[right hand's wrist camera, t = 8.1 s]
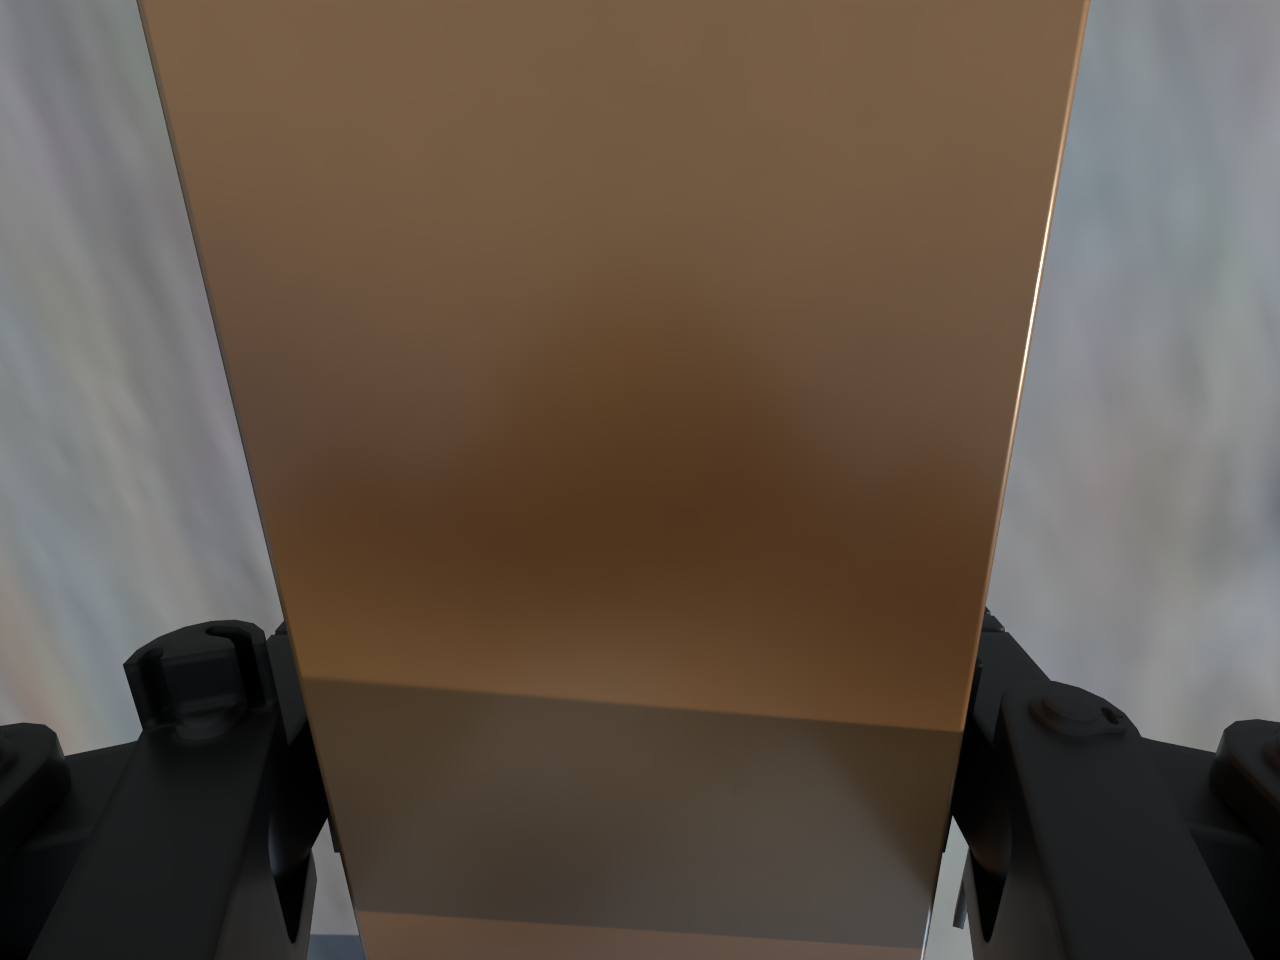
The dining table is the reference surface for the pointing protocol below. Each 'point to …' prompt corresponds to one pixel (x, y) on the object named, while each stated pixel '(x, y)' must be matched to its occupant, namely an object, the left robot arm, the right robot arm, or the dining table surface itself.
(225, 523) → the dining table surface
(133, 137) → the dining table surface
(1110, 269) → the dining table surface
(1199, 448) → the dining table surface
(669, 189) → the post
